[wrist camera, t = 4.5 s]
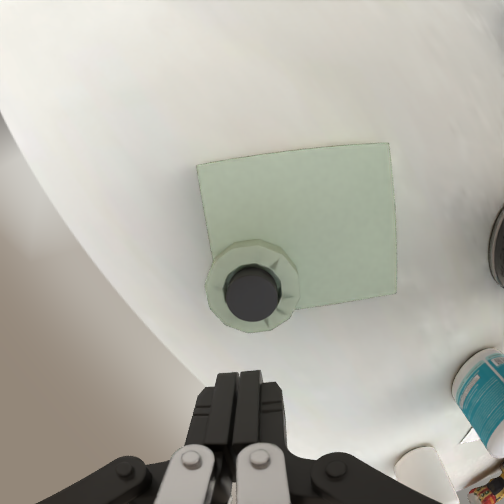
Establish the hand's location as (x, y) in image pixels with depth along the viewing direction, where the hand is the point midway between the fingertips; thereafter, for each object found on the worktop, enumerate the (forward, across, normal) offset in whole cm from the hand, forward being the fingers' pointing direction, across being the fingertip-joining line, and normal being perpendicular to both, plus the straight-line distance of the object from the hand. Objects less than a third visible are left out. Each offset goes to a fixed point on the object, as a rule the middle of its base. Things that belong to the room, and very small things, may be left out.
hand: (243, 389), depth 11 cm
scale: (+13, -4, -3) cm, 14 cm away
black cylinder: (+10, 0, 0) cm, 10 cm away
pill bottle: (+13, -23, +16) cm, 31 cm away
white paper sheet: (+13, -32, +26) cm, 44 cm away
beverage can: (+13, -17, +29) cm, 36 cm away
